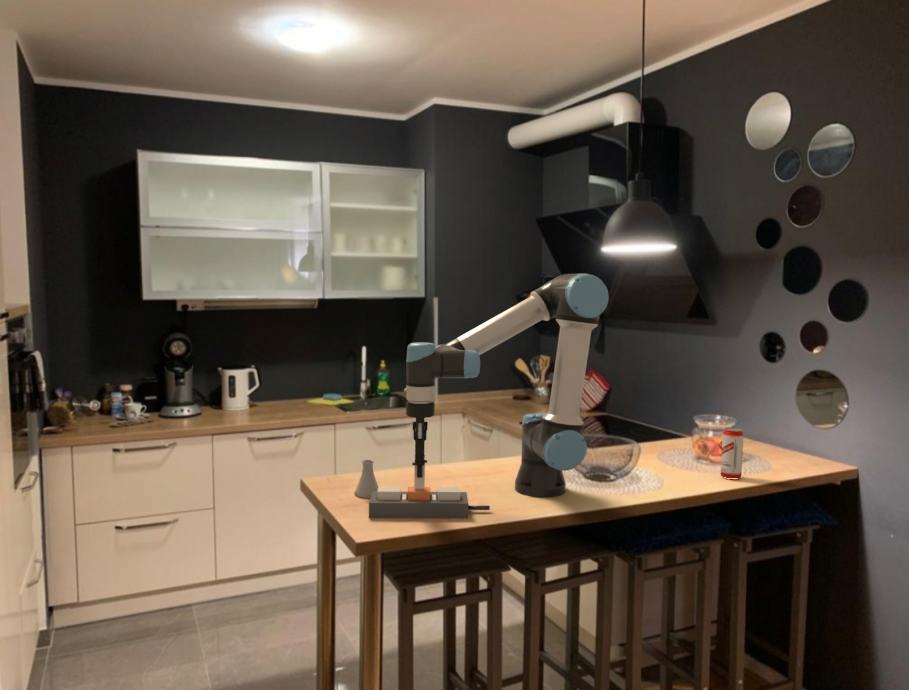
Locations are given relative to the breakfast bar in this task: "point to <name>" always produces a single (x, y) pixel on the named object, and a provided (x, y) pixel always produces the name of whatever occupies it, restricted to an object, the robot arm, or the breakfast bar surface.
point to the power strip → (421, 507)
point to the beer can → (732, 453)
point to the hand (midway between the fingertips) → (419, 488)
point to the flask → (366, 480)
